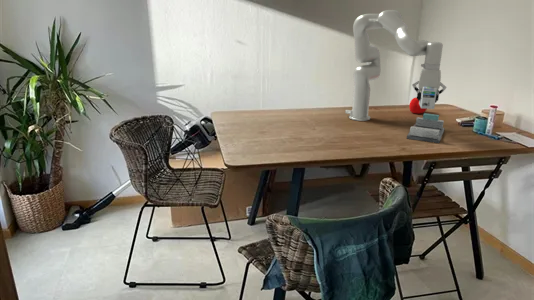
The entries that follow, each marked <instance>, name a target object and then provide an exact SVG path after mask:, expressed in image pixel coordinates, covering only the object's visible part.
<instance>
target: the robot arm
mask: <svg viewBox="0 0 534 300" xmlns="http://www.w3.org/2000/svg"><path fill="white" fill-rule="evenodd" d="M381 29H384V30H386V31H387V32H388V33H389V34H391V36H393V38H395V41H396V44H397V46H398V47H399V48H400V49H401V50H402V51H403V52H404V53H405V54H407V55H409V56H411V57H419V56H424V63H420V64H421V65H420V67H421V68H422V69H421V72H420V76H419V79H418V80H417V81H416V82H413V84H412V88H413V89H414V91H415V92H416V93H417V94H416V98H417V99H418V101H419V100H420V95H421V90H422V89H423V87H431V88H437V93H436V100H435V104H436V103H437V102H438V101H439V96H440V94H442V93H444V92H445V91H446V89H447V86H446V85H445V84H444V83H442V82H441V80H442V79H441V78H442V72H441V70H440V67H441V61H442V55H443V47H444V46H443V45H444V44H443V43H442V42H439V41H429V40H424V39H423V40H415V39H413V38H412V37H411V36H410V35H409V34H408V32H407V31H408V29H409V26H408V24H407V23H405V22H404V21H403V16H402V14H401V12H400V11H399V10H396V9H386V10H382V11H381V12H380V13H365V14H361V15H359V16H358V17H357V18H355V20H354V21H353V26H352V31H353V39H354V40H353V41H354V57H355V60H356V62H358V63H360V64H363V65H359V66H357V67H355V69H354V71H353V95H352V96H353V98H352V109H351V110H350V109H345V112H344V113H345V114H348V118H349V119H350V120H353V121H358V122H359V121H361V122H366V121H369V120H371V116H370V115H369V108H370V107H369V106H370V99H371V98H370V97H371V84H370V82H372V81H375V80H377V79H378V78H379V77H380V76H381V73H382V72H381V53H380V50H379V49H378V47H377V46H376V45H371V43H370V41H371V40H370V36H369V33H368V31H370V30H381ZM364 63H365V64H364ZM417 86H418V87H417ZM440 88H441V89H440ZM439 89H440V90H439Z"/></svg>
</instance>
